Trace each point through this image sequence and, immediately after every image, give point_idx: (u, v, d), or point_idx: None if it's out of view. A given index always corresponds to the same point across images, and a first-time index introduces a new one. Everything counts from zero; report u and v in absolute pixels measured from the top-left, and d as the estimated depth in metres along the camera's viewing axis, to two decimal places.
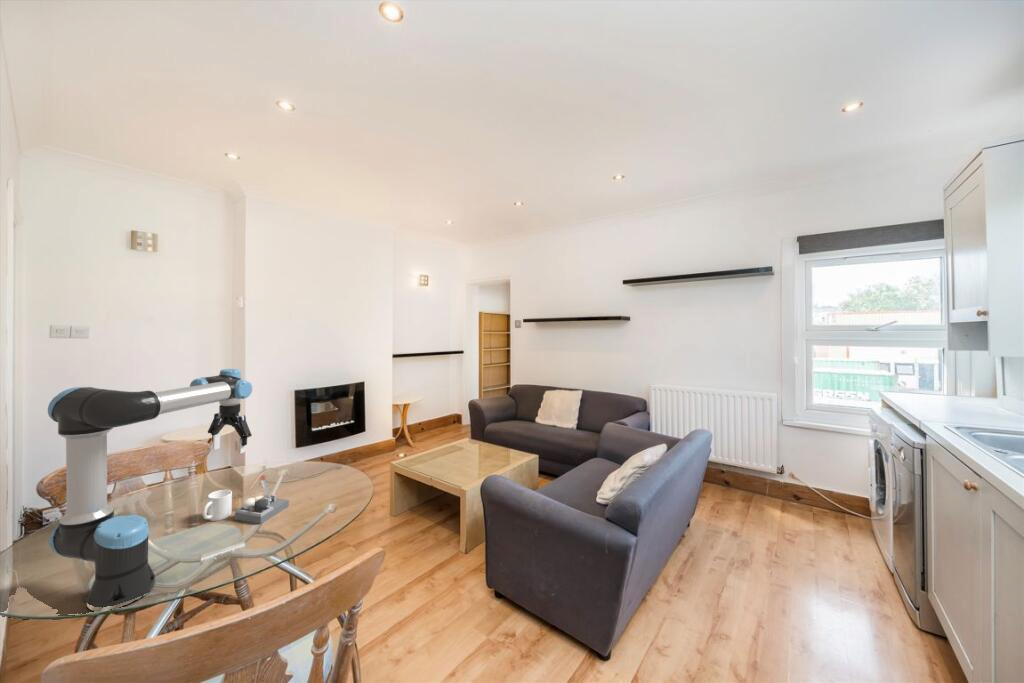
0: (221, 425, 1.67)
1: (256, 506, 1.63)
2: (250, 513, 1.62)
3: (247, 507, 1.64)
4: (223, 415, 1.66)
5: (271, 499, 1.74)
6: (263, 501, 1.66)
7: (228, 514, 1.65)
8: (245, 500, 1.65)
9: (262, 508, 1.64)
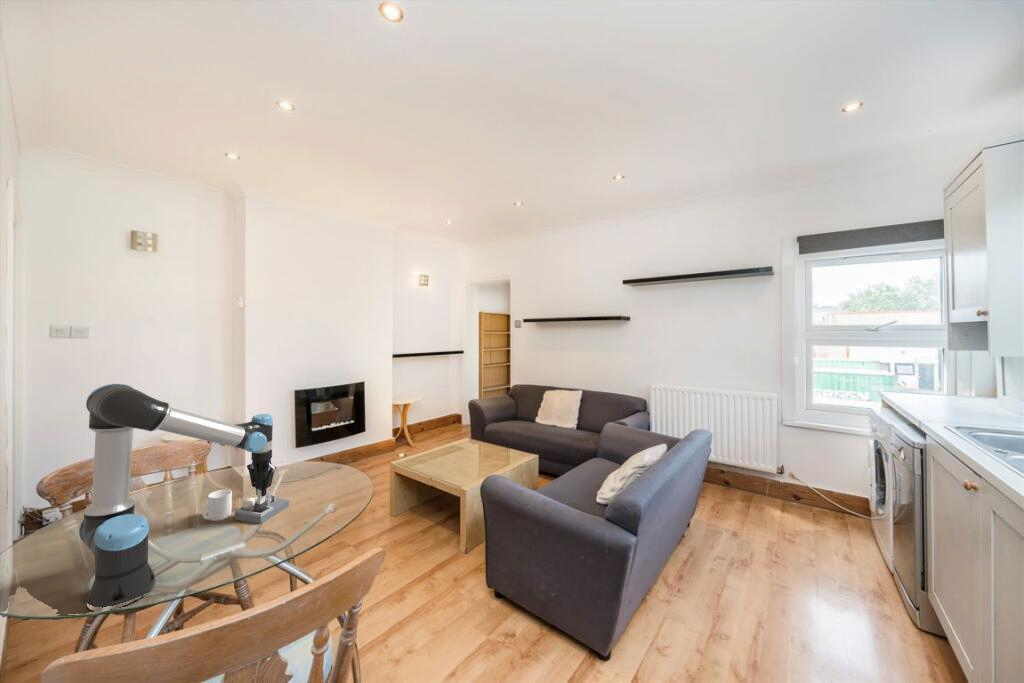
0: (258, 474, 1.64)
1: (256, 508, 1.63)
2: (250, 513, 1.62)
3: (247, 507, 1.64)
4: (254, 461, 1.64)
5: (271, 499, 1.74)
6: (263, 503, 1.66)
7: (228, 514, 1.65)
8: (245, 500, 1.65)
9: (262, 510, 1.64)
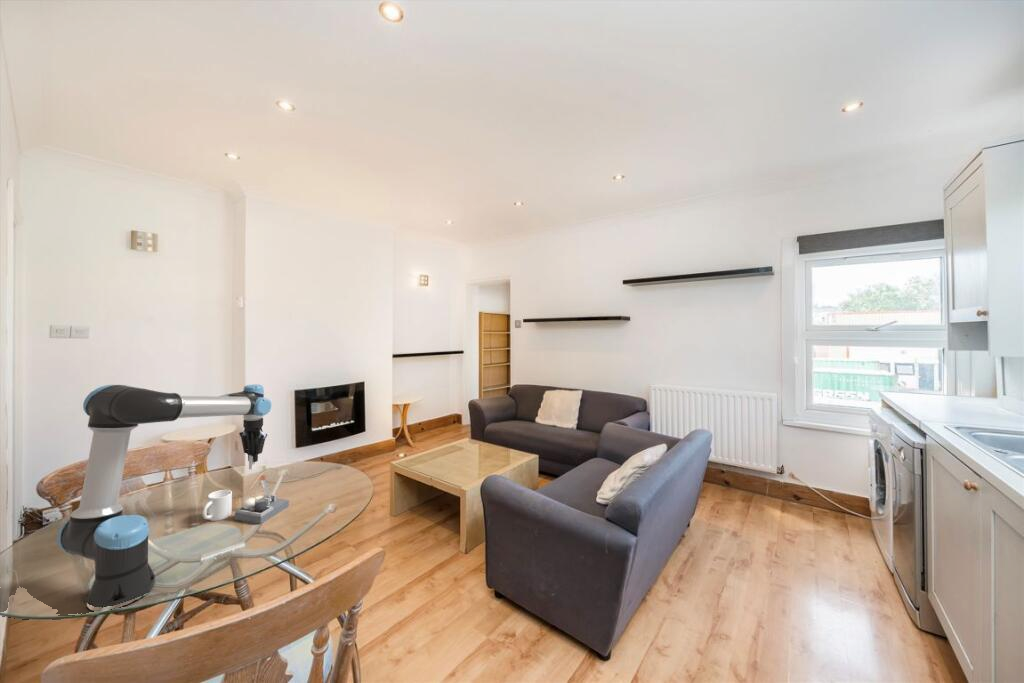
0: (250, 441, 1.73)
1: (256, 509, 1.63)
2: (250, 513, 1.62)
3: (247, 507, 1.64)
4: (246, 428, 1.73)
5: (271, 499, 1.74)
6: (263, 503, 1.66)
7: (228, 514, 1.65)
8: (245, 500, 1.65)
9: (262, 510, 1.64)
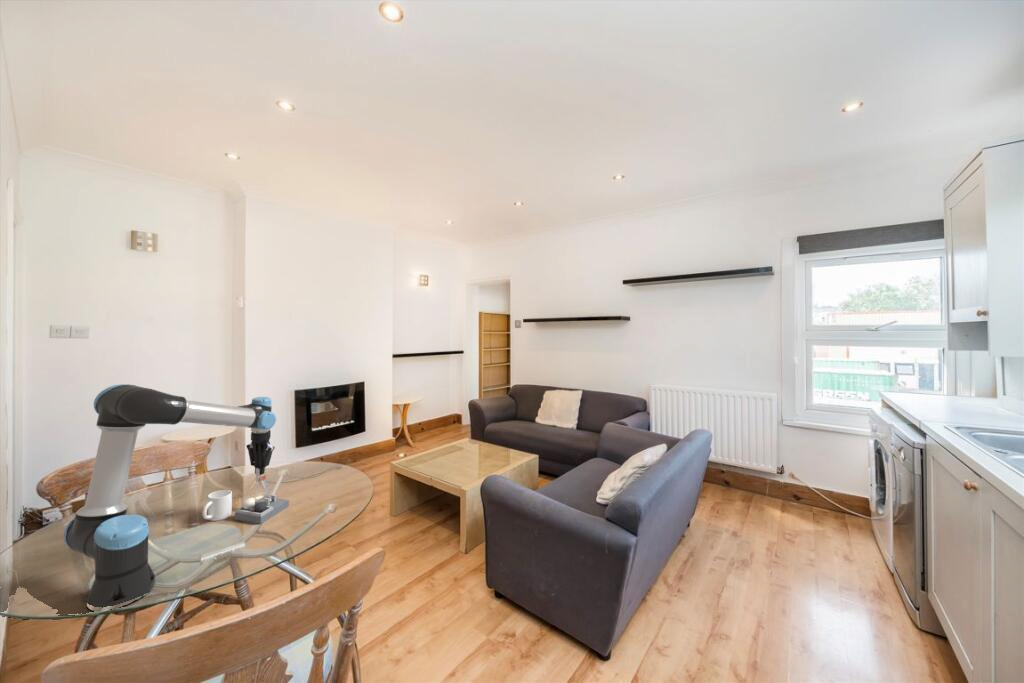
0: (257, 453, 1.73)
1: (256, 509, 1.63)
2: (250, 513, 1.62)
3: (247, 507, 1.64)
4: (253, 441, 1.72)
5: (271, 499, 1.74)
6: (263, 503, 1.66)
7: (228, 514, 1.65)
8: (245, 500, 1.65)
9: (262, 510, 1.64)
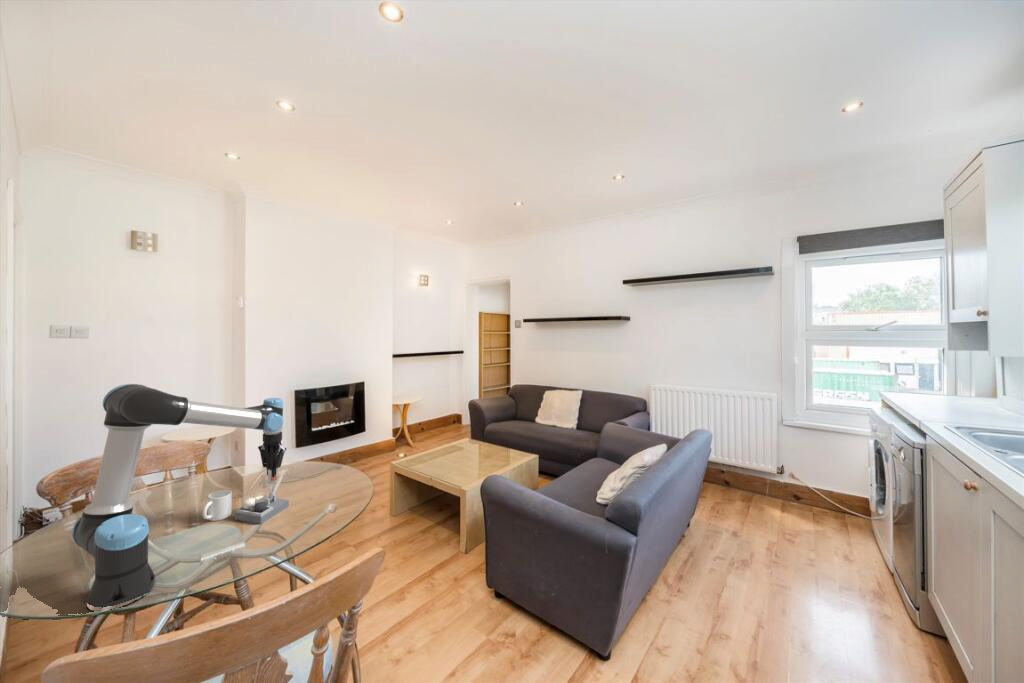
0: (269, 455, 1.72)
1: (256, 509, 1.63)
2: (250, 513, 1.62)
3: (247, 507, 1.64)
4: (265, 442, 1.71)
5: (271, 500, 1.74)
6: (263, 503, 1.66)
7: (228, 514, 1.65)
8: (245, 500, 1.65)
9: (262, 510, 1.64)
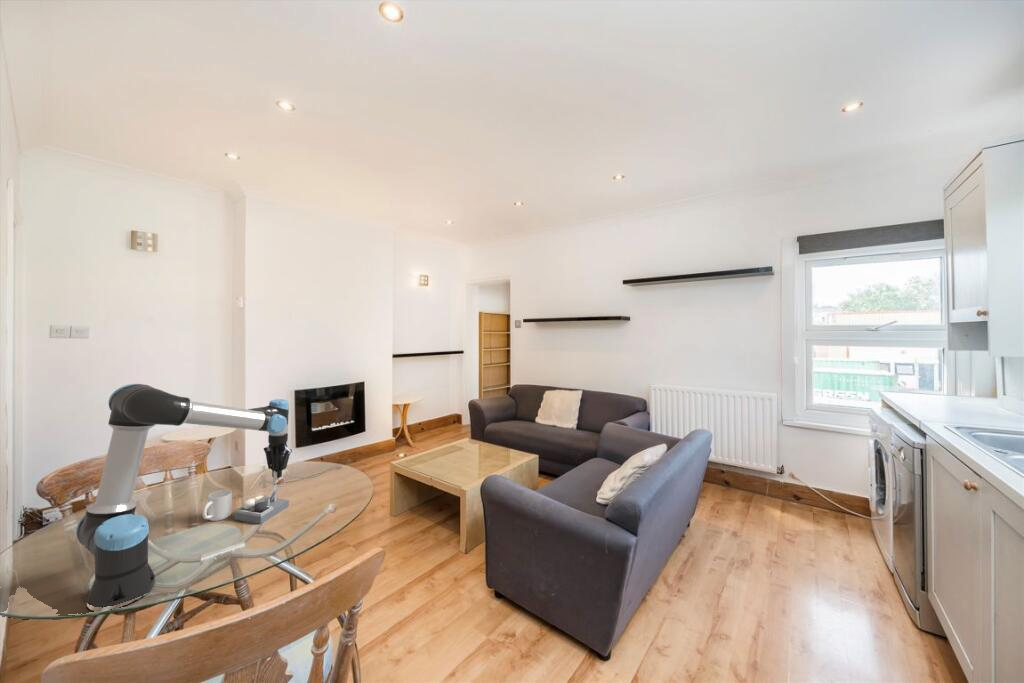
0: (275, 456, 1.71)
1: (256, 509, 1.63)
2: (250, 513, 1.62)
3: (247, 507, 1.64)
4: (270, 443, 1.71)
5: (271, 500, 1.74)
6: (263, 503, 1.66)
7: (228, 514, 1.65)
8: (245, 500, 1.65)
9: (262, 510, 1.64)
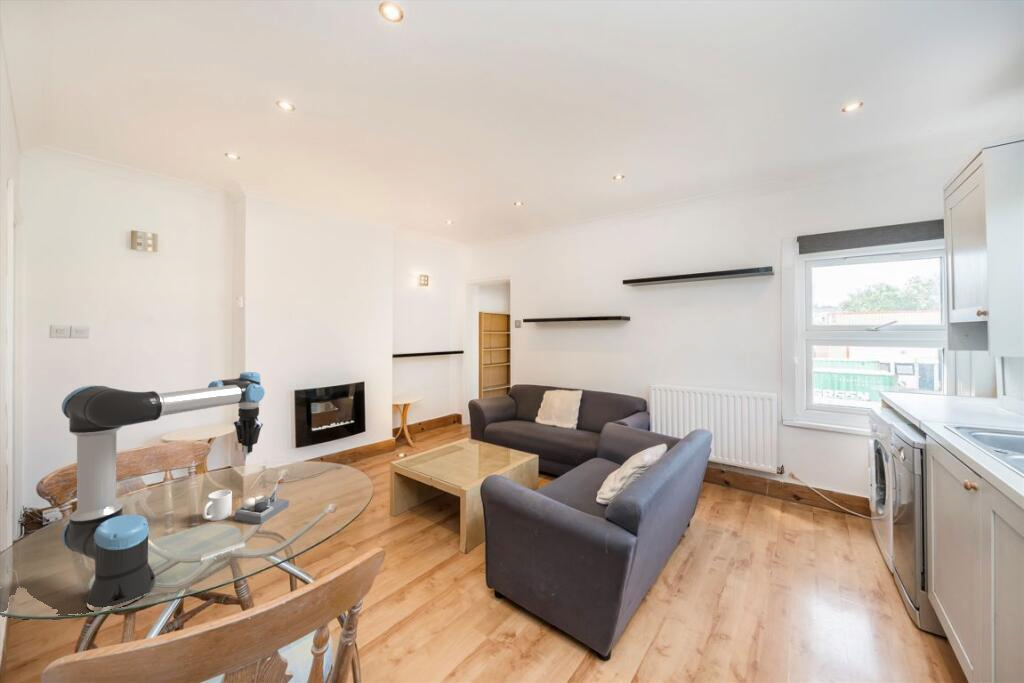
0: (245, 430, 1.67)
1: (256, 509, 1.63)
2: (250, 513, 1.62)
3: (247, 507, 1.64)
4: (241, 417, 1.67)
5: (271, 500, 1.74)
6: (263, 503, 1.66)
7: (228, 514, 1.65)
8: (245, 500, 1.65)
9: (262, 510, 1.64)
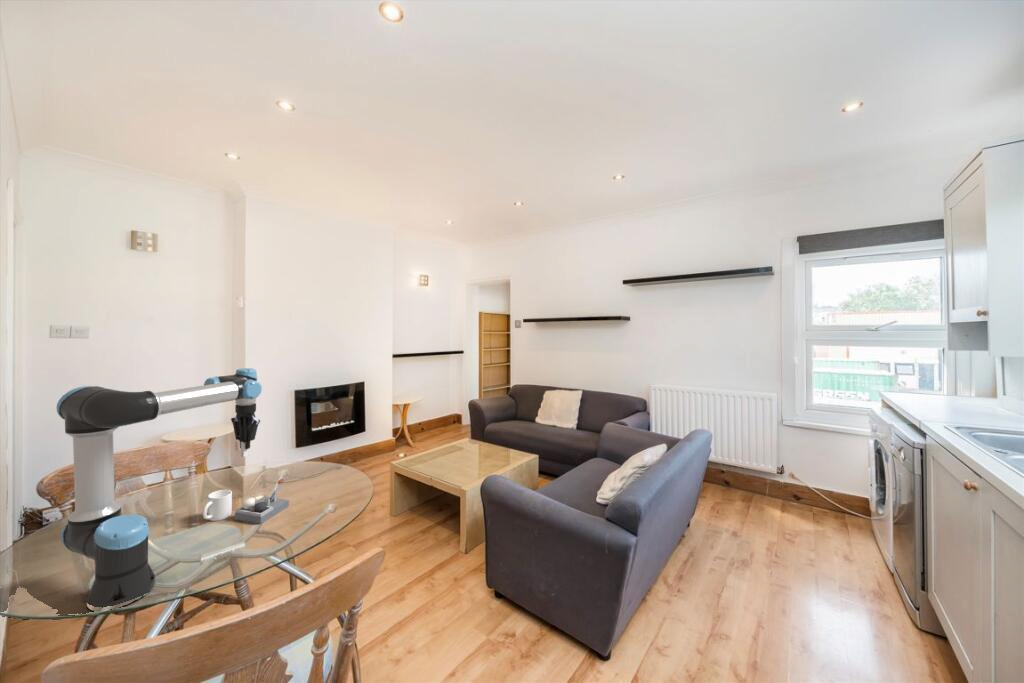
0: (242, 427, 1.66)
1: (256, 509, 1.63)
2: (250, 513, 1.62)
3: (247, 507, 1.64)
4: (238, 413, 1.66)
5: (271, 500, 1.74)
6: (263, 503, 1.66)
7: (228, 514, 1.65)
8: (245, 500, 1.65)
9: (262, 510, 1.64)
